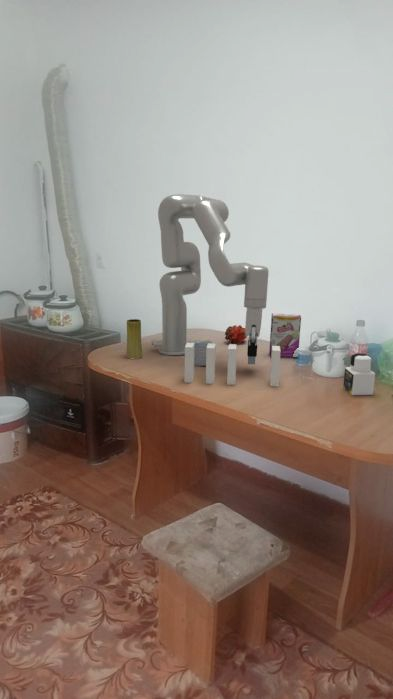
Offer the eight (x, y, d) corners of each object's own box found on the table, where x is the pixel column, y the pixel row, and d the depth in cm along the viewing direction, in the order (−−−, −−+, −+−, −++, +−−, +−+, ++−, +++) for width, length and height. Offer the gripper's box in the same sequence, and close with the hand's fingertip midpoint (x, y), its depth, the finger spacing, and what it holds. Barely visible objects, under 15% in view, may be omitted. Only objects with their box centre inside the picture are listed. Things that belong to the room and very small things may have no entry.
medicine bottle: (342, 387, 166) (346, 351, 163) (364, 387, 167) (368, 351, 164) (351, 395, 159) (354, 358, 156) (373, 395, 160) (377, 358, 157)
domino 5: (270, 386, 167) (272, 350, 163) (270, 380, 172) (271, 345, 169) (278, 386, 166) (280, 350, 163) (277, 380, 172) (279, 346, 169)
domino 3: (227, 384, 168) (228, 348, 165) (228, 378, 174) (229, 344, 171) (234, 384, 168) (236, 349, 165) (235, 379, 174) (236, 344, 170)
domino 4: (247, 364, 178) (249, 330, 175) (247, 358, 184) (249, 326, 181) (254, 364, 178) (257, 330, 175) (254, 359, 184) (257, 326, 181)
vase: (145, 355, 199) (144, 319, 196) (138, 360, 194) (137, 322, 190) (130, 354, 201) (129, 318, 198) (123, 358, 196) (122, 321, 192)
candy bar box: (269, 357, 200) (271, 315, 195) (268, 353, 204) (271, 313, 200) (298, 358, 199) (301, 316, 194) (297, 354, 203) (300, 313, 199)
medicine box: (208, 362, 192) (209, 339, 190) (212, 365, 188) (213, 342, 186) (188, 363, 190) (188, 340, 188) (191, 367, 186) (192, 343, 184)
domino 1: (184, 382, 169) (184, 347, 166) (186, 376, 175) (187, 342, 172) (192, 382, 169) (192, 347, 166) (194, 377, 175) (194, 342, 172)
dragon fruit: (222, 348, 218) (243, 348, 225) (235, 340, 211) (256, 340, 219) (217, 330, 220) (238, 330, 228) (229, 321, 214) (250, 322, 222)
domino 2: (205, 383, 169) (206, 347, 166) (207, 377, 174) (208, 343, 171) (213, 383, 168) (214, 348, 165) (214, 378, 174) (215, 343, 171)
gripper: (244, 297, 184) (241, 346, 189) (243, 307, 167) (240, 360, 172) (265, 298, 183) (262, 347, 188) (267, 308, 167) (263, 361, 172)
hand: (251, 353), depth 180 cm, fingers closed on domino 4, 6 cm apart
